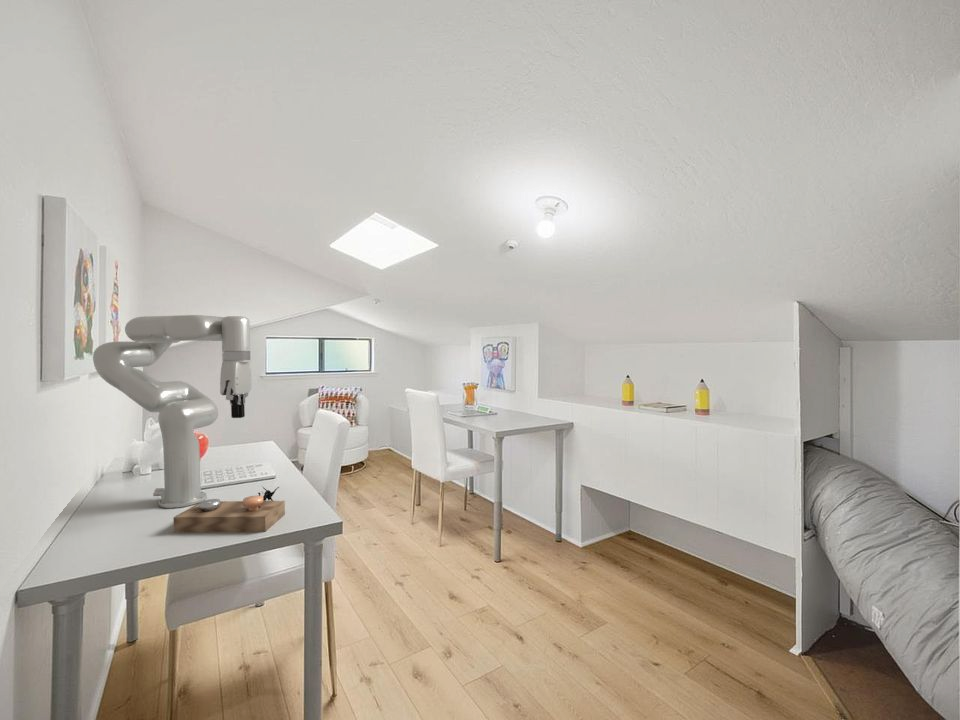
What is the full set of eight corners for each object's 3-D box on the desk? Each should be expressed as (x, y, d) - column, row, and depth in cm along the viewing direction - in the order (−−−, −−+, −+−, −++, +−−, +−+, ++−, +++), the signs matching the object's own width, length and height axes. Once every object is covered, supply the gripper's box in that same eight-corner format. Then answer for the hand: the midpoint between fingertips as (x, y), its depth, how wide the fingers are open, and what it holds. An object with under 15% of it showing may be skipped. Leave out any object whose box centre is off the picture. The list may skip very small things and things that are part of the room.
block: (173, 532, 119) (173, 517, 119) (201, 515, 131) (201, 501, 131) (265, 531, 120) (265, 516, 119) (284, 514, 132) (284, 500, 131)
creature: (269, 512, 136) (284, 498, 144) (266, 496, 135) (281, 483, 142) (245, 511, 138) (261, 497, 145) (242, 495, 136) (259, 482, 144)
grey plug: (195, 525, 123) (194, 505, 123) (206, 517, 128) (205, 499, 128) (214, 524, 123) (213, 505, 123) (224, 517, 128) (223, 498, 128)
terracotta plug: (239, 521, 123) (239, 501, 123) (249, 514, 128) (248, 495, 128) (258, 521, 123) (257, 501, 123) (267, 514, 128) (266, 495, 128)
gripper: (237, 356, 145) (238, 413, 146) (209, 358, 130) (211, 421, 131) (260, 356, 145) (262, 413, 146) (235, 357, 130) (237, 421, 131)
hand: (238, 417), depth 139 cm, fingers closed
